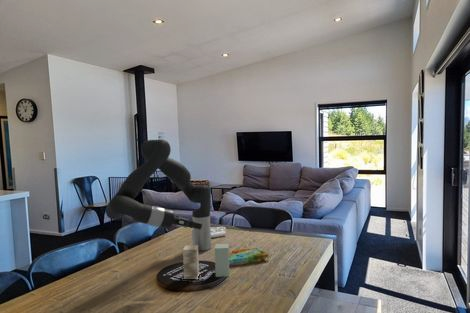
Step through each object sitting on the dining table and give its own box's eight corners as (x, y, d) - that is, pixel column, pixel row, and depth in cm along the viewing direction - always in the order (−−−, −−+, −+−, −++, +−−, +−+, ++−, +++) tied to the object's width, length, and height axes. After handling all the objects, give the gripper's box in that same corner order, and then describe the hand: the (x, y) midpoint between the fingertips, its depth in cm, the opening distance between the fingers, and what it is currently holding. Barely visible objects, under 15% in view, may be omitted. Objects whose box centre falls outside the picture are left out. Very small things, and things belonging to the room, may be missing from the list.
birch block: (184, 279, 138) (182, 250, 138) (186, 273, 144) (184, 245, 143) (197, 278, 138) (196, 249, 138) (199, 273, 144) (198, 245, 143)
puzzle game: (219, 251, 160) (258, 245, 167) (219, 261, 161) (258, 254, 168) (227, 259, 149) (268, 252, 156) (227, 269, 150) (268, 262, 157)
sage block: (215, 277, 140) (214, 248, 139) (216, 272, 145) (215, 244, 144) (229, 276, 140) (228, 248, 139) (229, 271, 145) (228, 243, 144)
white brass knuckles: (201, 240, 194) (194, 234, 208) (230, 236, 201) (222, 230, 215) (201, 234, 194) (194, 229, 208) (230, 230, 201) (221, 225, 215)
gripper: (167, 208, 127) (206, 218, 134) (157, 207, 139) (193, 215, 146) (162, 228, 125) (201, 237, 132) (152, 225, 138) (188, 233, 145)
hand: (197, 225), depth 139 cm, fingers open, 8 cm apart
